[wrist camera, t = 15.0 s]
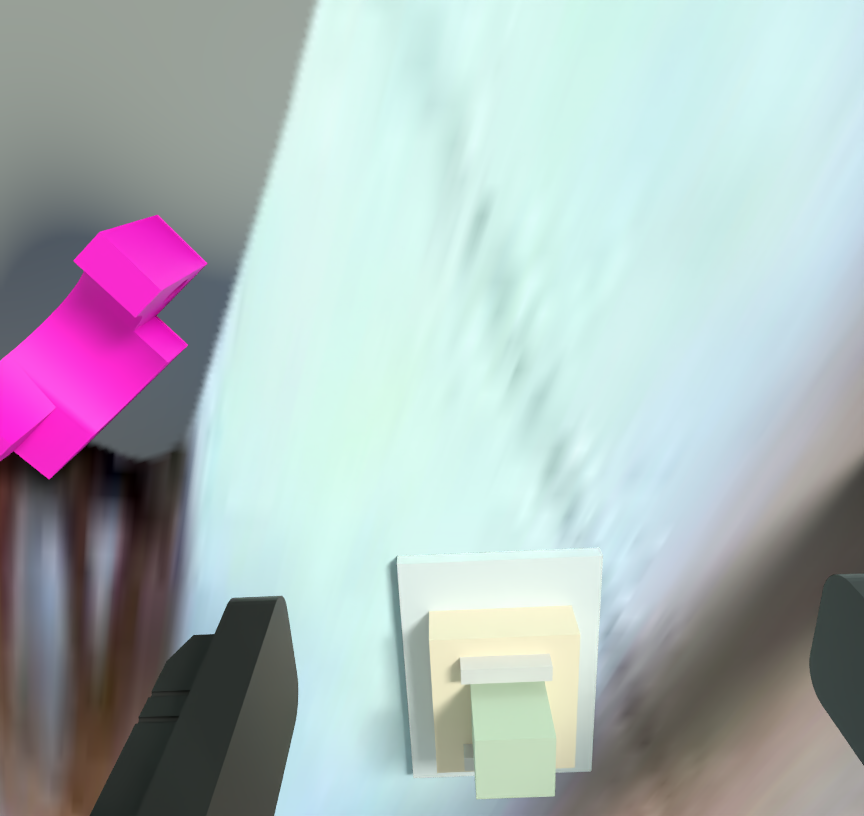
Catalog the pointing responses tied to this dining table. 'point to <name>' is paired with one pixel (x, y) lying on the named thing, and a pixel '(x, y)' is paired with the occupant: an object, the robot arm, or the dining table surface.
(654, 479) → the dining table surface
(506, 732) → the sage cube
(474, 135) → the dining table surface
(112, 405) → the toy block
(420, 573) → the base
